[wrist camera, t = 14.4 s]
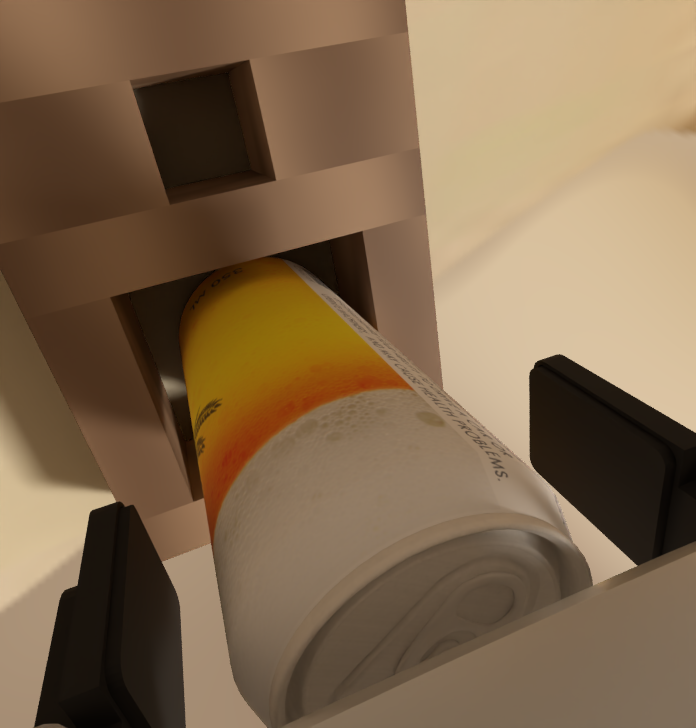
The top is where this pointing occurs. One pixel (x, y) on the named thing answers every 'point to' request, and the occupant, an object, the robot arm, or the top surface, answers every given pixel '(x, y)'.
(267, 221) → the brown wooden slotted block
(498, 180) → the top surface
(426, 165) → the top surface
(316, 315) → the beer can
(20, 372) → the top surface
